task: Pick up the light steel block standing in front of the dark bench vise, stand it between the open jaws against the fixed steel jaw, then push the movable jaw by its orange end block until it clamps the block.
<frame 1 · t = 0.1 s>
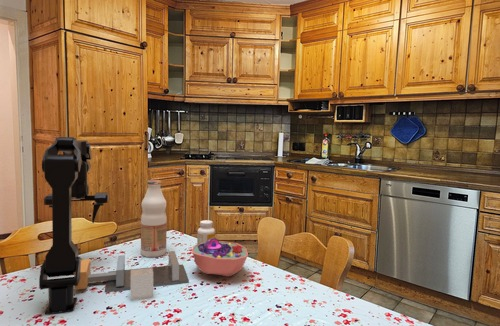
hand: (78, 223, 112), 15 cm above the table, tool pointing down, fingers open, 9 cm apart
movable jaw: (101, 271, 100), point 4 cm above the table, slide at 7.0 cm
cell model: (219, 273, 111), on the table
fruit juice: (153, 253, 127), on the table
vise: (157, 277, 106), on the table
supplement bottle: (205, 254, 127), on the table
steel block: (141, 295, 94), on the table
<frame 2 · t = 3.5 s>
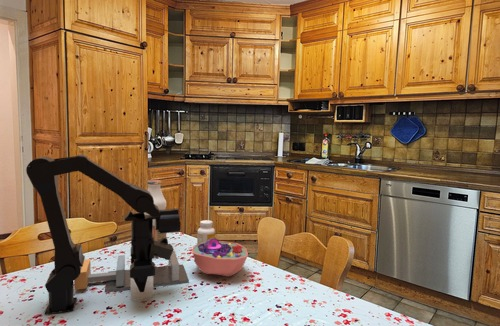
hand: (141, 288, 94), 2 cm above the table, tool pointing down, fingers closed on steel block, 4 cm apart
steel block: (141, 295, 94), on the table, touching gripper
everything else where it was.
when the fingers open (4 cm above the table, at t = 7.5 s): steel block stays where it is, resting on vise.
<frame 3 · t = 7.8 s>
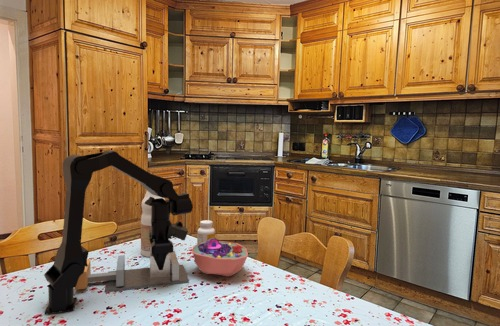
hand: (160, 265, 106), 4 cm above the table, tool pointing down, fingers open, 7 cm apart
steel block: (159, 274, 106), point 1 cm above the table, touching vise
everything else where it was.
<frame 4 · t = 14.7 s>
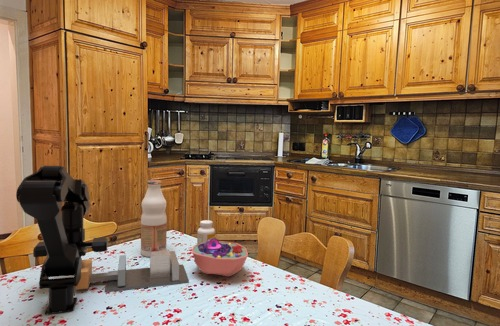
hand: (72, 274, 98), 4 cm above the table, tool pointing down, fingers closed
movable jaw: (102, 271, 101), point 4 cm above the table, slide at 6.6 cm, touching gripper
everything else where it was.
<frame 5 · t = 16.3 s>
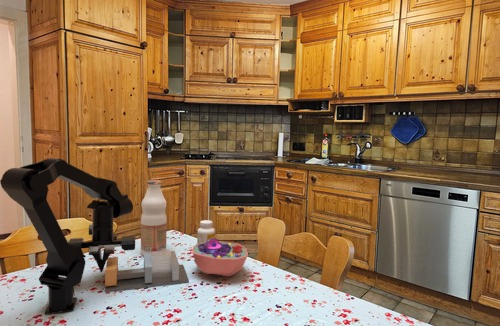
hand: (101, 271, 100), 4 cm above the table, tool pointing down, fingers closed
movable jaw: (129, 269, 103), point 4 cm above the table, slide at -1.0 cm, touching gripper, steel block
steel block: (160, 274, 106), point 1 cm above the table, touching movable jaw, vise
everything else where it was.
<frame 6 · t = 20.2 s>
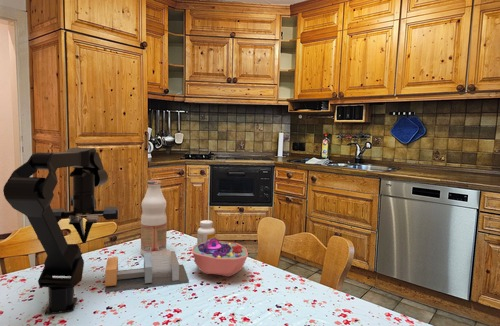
hand: (84, 242, 98), 13 cm above the table, tool pointing down, fingers closed
movable jaw: (129, 269, 103), point 4 cm above the table, slide at -1.0 cm, touching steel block
everything else where it was.
at the end: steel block 0.0 cm from the target spot, point 0.8 cm above the table; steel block tilted 0°; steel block touching movable jaw, vise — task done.
